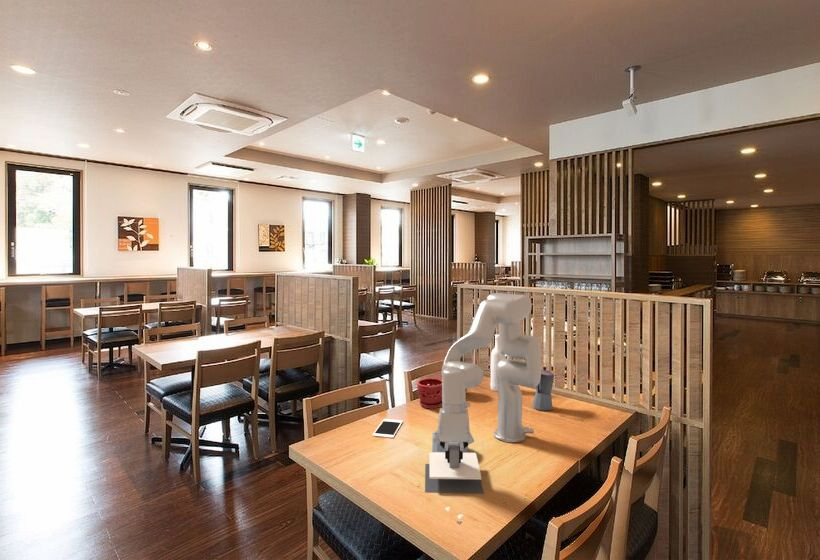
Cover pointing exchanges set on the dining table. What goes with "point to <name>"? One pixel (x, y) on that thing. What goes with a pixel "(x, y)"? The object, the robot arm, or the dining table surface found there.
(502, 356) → the bottle
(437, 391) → the plant pot
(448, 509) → the acanthus leaf ornament
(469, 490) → the mat
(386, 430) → the cell phone
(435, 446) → the bowl
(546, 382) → the moka pot
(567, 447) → the dining table surface
